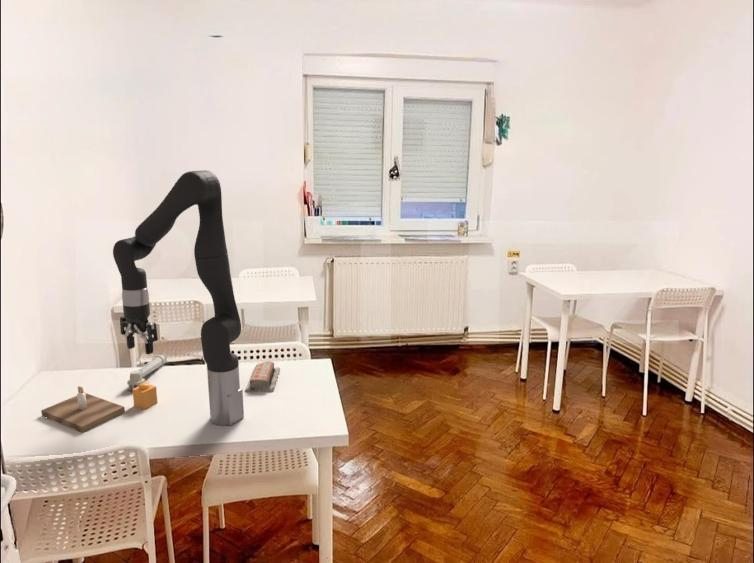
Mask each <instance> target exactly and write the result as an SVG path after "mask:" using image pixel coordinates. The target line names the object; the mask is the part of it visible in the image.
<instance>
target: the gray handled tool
mask: <svg viewBox="0 0 754 563" xmlns="http://www.w3.org/2000/svg"><path fill="white" fill-rule="evenodd" d="M167 361H168V360H167V356H165V354H159V355H155V356H154V357H153V358H152V359H151V360H149V361H148V362H147V363H146V364H144V365H143V366H142V367H141V368H139V369H138V370H133V371H131V372H130V374H129V380H127V385H128V390H129V391H132V389H134V388H136V387H138V385H139V384H140V383H143V382H146V381H145V380H146V379H145V378H144V377H146V376H147V375H149V374H151V373H152V372H153V371H155V370H157V369H158V368H161V367H163V365H165V363H167ZM132 392H133V391H132Z"/></svg>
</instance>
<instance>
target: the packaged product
mask: <svg viewBox="0 0 754 563" xmlns="http://www.w3.org/2000/svg"><path fill="white" fill-rule="evenodd" d="M280 373H281V367H275V362H273V361H269V360H267V361H264V362H260V363H257V364H256V365H255V367H254V368H253V370H252V372H251V375H250V377H249V379H248V382H247V384H246V387H245V389H244V391H245V392H249V393H250V392H251V393H252V392H253V393H254V392H259V391H260V392H274V390H275V388H276V386H277V383H276V382H278V380H277V379H279V377H278V375H279V376H280Z"/></svg>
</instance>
